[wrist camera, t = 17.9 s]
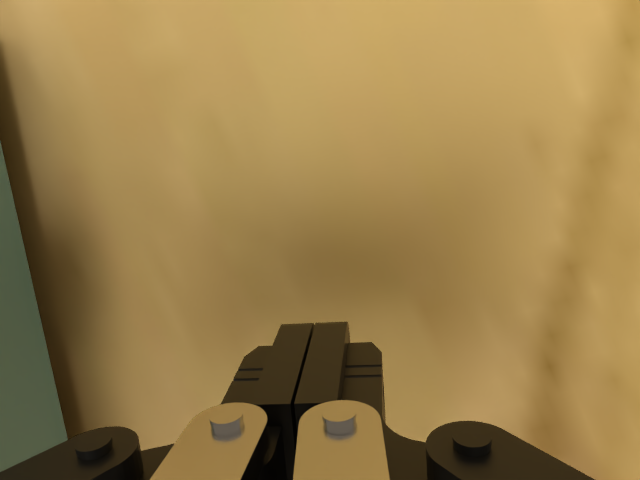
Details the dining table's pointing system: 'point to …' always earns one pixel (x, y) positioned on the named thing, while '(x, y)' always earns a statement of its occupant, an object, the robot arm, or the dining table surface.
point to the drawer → (22, 350)
